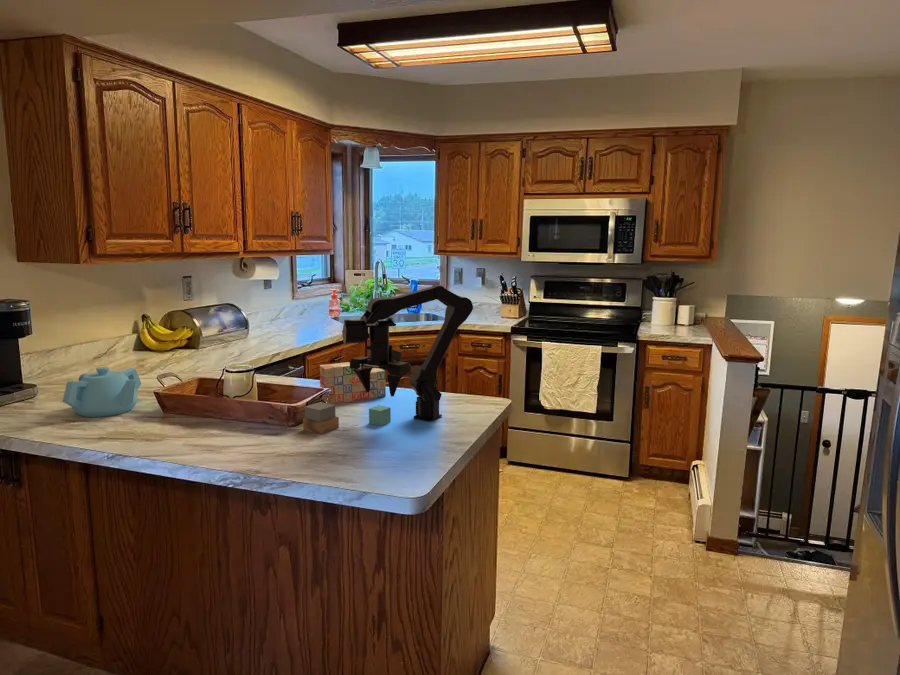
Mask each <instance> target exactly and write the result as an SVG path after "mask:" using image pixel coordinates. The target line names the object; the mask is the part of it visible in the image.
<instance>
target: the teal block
mask: <svg viewBox="0 0 900 675" xmlns="http://www.w3.org/2000/svg"><path fill="white" fill-rule="evenodd" d="M391 416H392V414H391V407H390V406H386V405H381V404H380V405H375V406H373V407H370V408H369V409H368V423H369V424H372V425H377V426H380V427H381V426H384V425H387V424H390V423H391V420H392V418H391Z"/></svg>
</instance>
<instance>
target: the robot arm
mask: <svg viewBox="0 0 900 675" xmlns="http://www.w3.org/2000/svg"><path fill="white" fill-rule="evenodd" d="M436 300H437V301H439V302H440V303H441V304H443V305H445V306H446V308H445V311H444V321H443V324H442V325H441V328H440V329H439V331H438V333H437V335H436V337H435V339H434V342H433V343H432V346H431V348H430V350H429V352H428V354H427V355H426V358H425V360H424V361H423V363H422V364H421V365H420V366H418V365H414V367H413V370H411V369H412V368H411V366H412V365H411V364H410V363H409V362H406V361H402V356H403V352H402V351H398V350H395V349H394V348H393V344H392V343H391V344H390V327H396V326H397V324H396V322H394V321H393V320H392V318H391V316H394V315H396V314H397V313H398V312H399V311H400V312H401V311H402V310H406V309H408V308H409V309H410V308H412V307H414V306H415V307H416V306H419V305H422V304H426V303H429V302H432V301H436ZM366 305H367V306H366V310H365V311H364V313H363V315H362V316H361V317H360V319H344V320H343V326H342V330H341V333H342V335H341V336H342V341H343V344H344V345H347V344H362V343H363V344H364V343H365V342H366V341H367V340H368V339H369V340H368V341H369V345H366V350H369V356H362V355H360V356H357V357H353V358H351V359H350V360H349V362H350V368H353V371H354V372H356V374H357V376H358V377H359V379H360V381H361V383H362V384H363V386H364V388H365V390H366V392H369V391H370V372H371V370H372V368H379V369H382V370H386V371H387V373H388V374H387V375H386V377H387V382H388V389H389V390H388V391H389V393H390V397H392V398H393V397H395V394H396V391H397V389H398V386H399V383H400V381H401V379H402V378H403V377H404V376H406V375H407V374H409V373H411V371H412V373H411V374H410V375H409V378H410V379H409V385H410V388H411V389H412V390H413V391H414V392H415V394H416V395H417V396H416V401H415V415H414V416H413V419H418V420H423V421H426V422H427V421H428V422H433V421H435V420H437V419H439V418H442V417H443V415H442V413H441V414H440V401H441V398H442V393H441V392H440V391H439V390H438V388H436V383H437V378H438V371H439V367H440V365H441V363H442V361H443V359H444V358H445V355H446V353H447V351H448V349H449V348H450V345H451V343H452V341H453V338H454V337H455V335H456V332H457V330H459V329H458V328H459V327H461V325H463V323H465V321H466V320H467V319H468V318H469V316H471V313H472V312H473V310H474V305H473V302H472V301H471V299H470V298H468V297H465V296H461V295H458V294H456V293H454V292H453V291H450V290H449V289H446V288H445V287H444V286H443V285H439V284H433V285H431V286H429V287H425V288H422V289H419V290H415V291H411V292H408V293H405V294H401V295H397V296H396V295H395V296H383V297H374V298H371V299H370V300H369V301H368V303H367V304H366Z"/></svg>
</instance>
